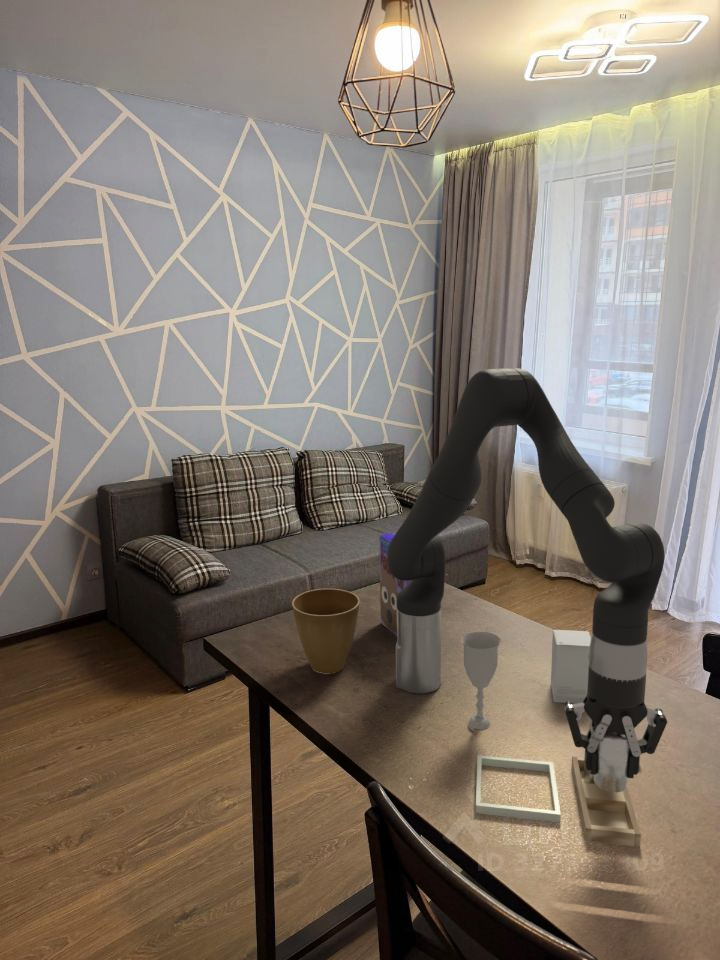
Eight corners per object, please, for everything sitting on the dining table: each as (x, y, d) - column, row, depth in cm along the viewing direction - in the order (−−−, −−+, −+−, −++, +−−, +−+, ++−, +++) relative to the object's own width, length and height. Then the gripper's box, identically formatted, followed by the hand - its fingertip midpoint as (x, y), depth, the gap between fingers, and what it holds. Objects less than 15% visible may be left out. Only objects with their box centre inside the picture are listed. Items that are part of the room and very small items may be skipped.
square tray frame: (475, 819, 100) (475, 805, 99) (477, 768, 112) (477, 755, 111) (560, 829, 97) (560, 814, 97) (552, 775, 109) (553, 762, 109)
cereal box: (380, 623, 170) (378, 534, 165) (397, 619, 172) (395, 532, 167) (414, 650, 154) (413, 554, 149) (431, 646, 156) (431, 550, 151)
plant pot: (283, 677, 144) (279, 609, 140) (313, 647, 157) (310, 585, 154) (345, 689, 138) (343, 618, 135) (371, 657, 152) (369, 592, 148)
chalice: (475, 743, 118) (476, 652, 114) (453, 725, 124) (453, 637, 120) (506, 732, 122) (508, 642, 118) (484, 714, 127) (485, 628, 124)
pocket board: (584, 847, 94) (585, 828, 93) (571, 773, 110) (572, 756, 109) (639, 853, 92) (641, 834, 92) (617, 777, 108) (618, 760, 108)
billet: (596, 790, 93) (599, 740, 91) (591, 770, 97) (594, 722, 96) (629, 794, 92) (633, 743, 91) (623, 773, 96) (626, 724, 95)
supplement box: (591, 705, 129) (594, 646, 127) (553, 702, 131) (555, 644, 128) (586, 686, 137) (589, 630, 134) (550, 683, 138) (552, 628, 135)
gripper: (566, 674, 89) (562, 784, 92) (679, 682, 86) (670, 795, 90) (561, 649, 96) (557, 752, 100) (665, 655, 93) (657, 761, 97)
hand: (610, 772), depth 95 cm, fingers closed on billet, 4 cm apart
